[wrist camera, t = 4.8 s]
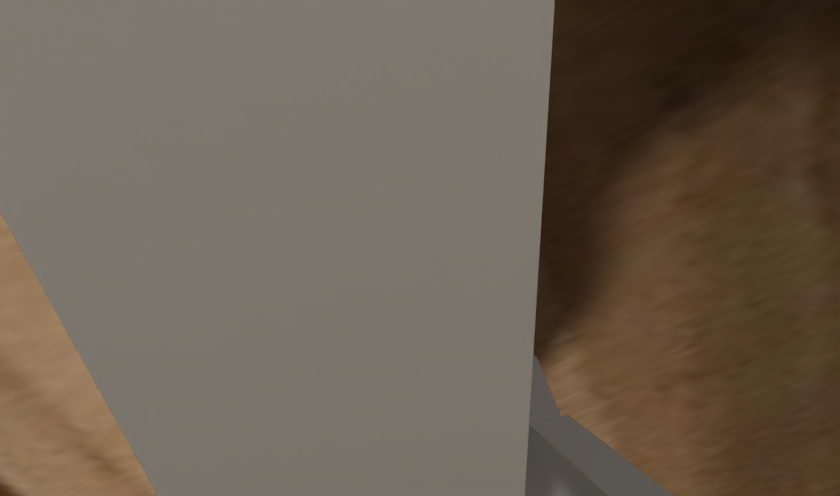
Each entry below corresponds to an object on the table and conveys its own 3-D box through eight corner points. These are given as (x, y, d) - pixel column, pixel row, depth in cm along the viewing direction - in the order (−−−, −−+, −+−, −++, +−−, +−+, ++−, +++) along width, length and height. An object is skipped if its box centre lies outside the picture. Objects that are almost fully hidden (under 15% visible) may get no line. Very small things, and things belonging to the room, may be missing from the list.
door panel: (330, 36, 8) (-199, -152, 1) (441, 26, 8) (568, -227, 1) (395, 467, 14) (369, 875, 7) (460, 463, 14) (501, 874, 7)
